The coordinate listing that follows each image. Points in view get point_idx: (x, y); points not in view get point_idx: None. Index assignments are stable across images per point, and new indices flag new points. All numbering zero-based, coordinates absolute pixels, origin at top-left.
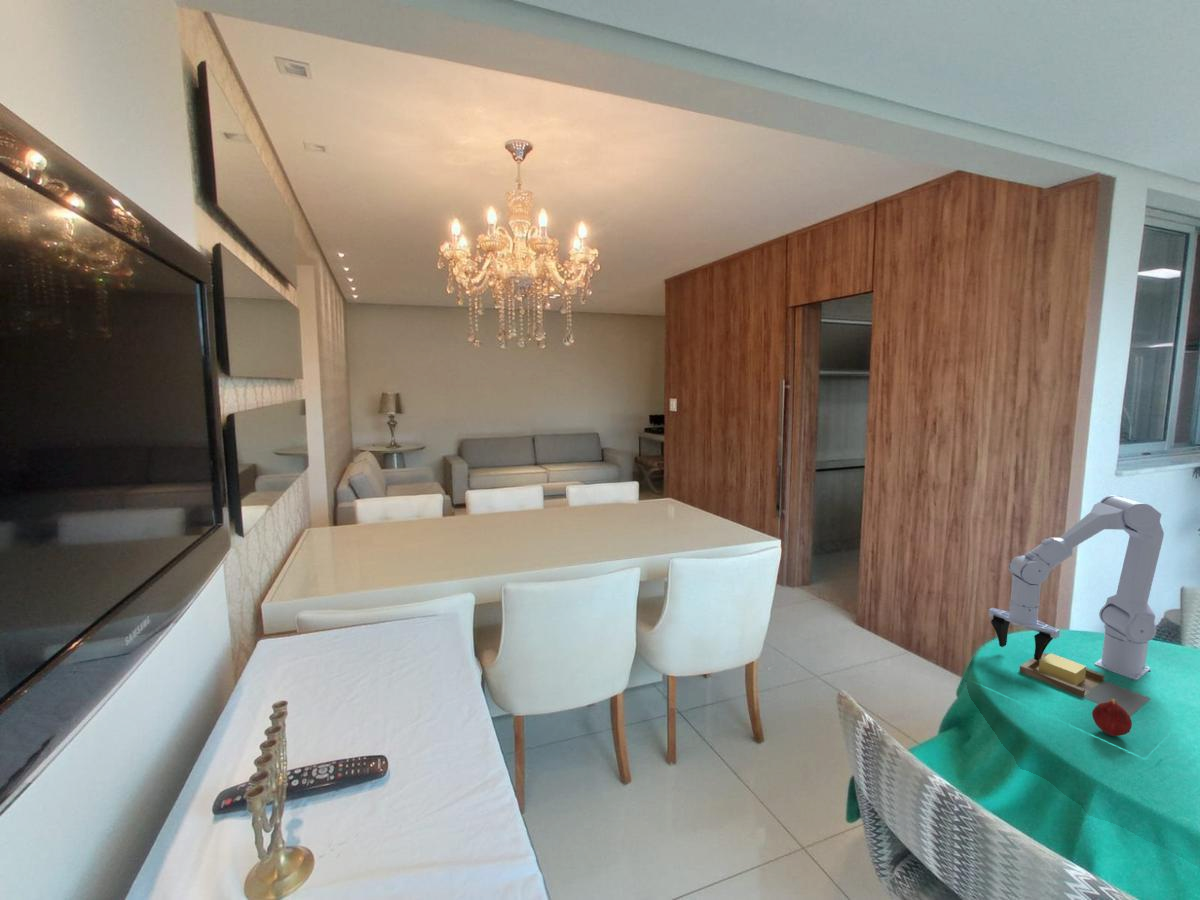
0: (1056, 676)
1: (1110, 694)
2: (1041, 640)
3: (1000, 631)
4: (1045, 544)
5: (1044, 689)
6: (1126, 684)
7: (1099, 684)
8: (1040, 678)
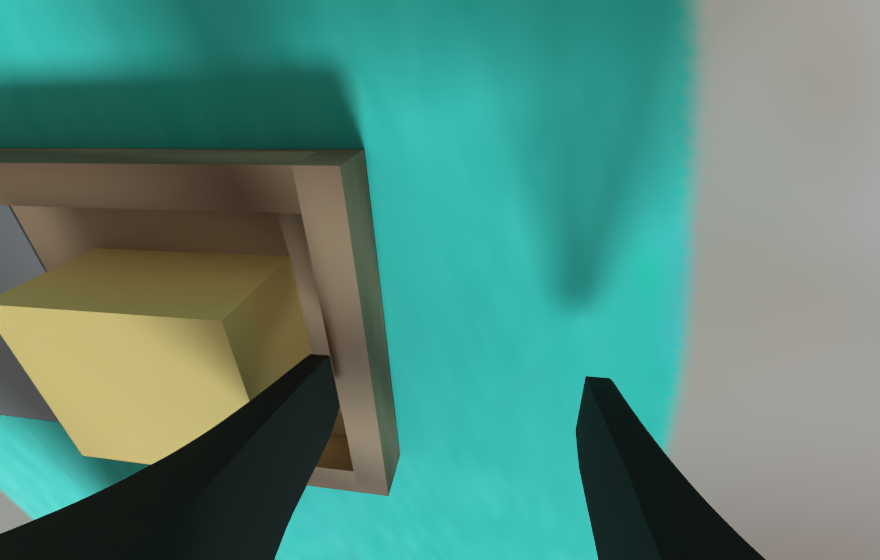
0: (167, 264)
1: None
2: (21, 549)
3: (663, 537)
4: None
5: (114, 23)
6: (110, 461)
7: None
8: (202, 153)
